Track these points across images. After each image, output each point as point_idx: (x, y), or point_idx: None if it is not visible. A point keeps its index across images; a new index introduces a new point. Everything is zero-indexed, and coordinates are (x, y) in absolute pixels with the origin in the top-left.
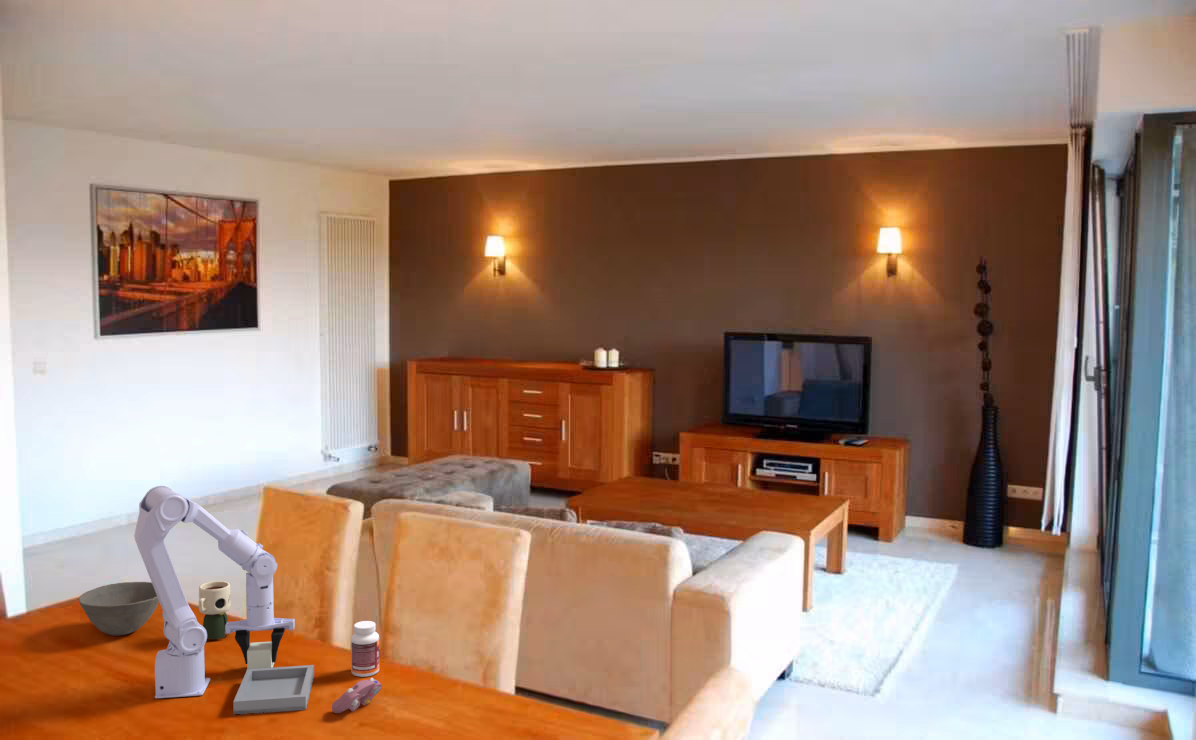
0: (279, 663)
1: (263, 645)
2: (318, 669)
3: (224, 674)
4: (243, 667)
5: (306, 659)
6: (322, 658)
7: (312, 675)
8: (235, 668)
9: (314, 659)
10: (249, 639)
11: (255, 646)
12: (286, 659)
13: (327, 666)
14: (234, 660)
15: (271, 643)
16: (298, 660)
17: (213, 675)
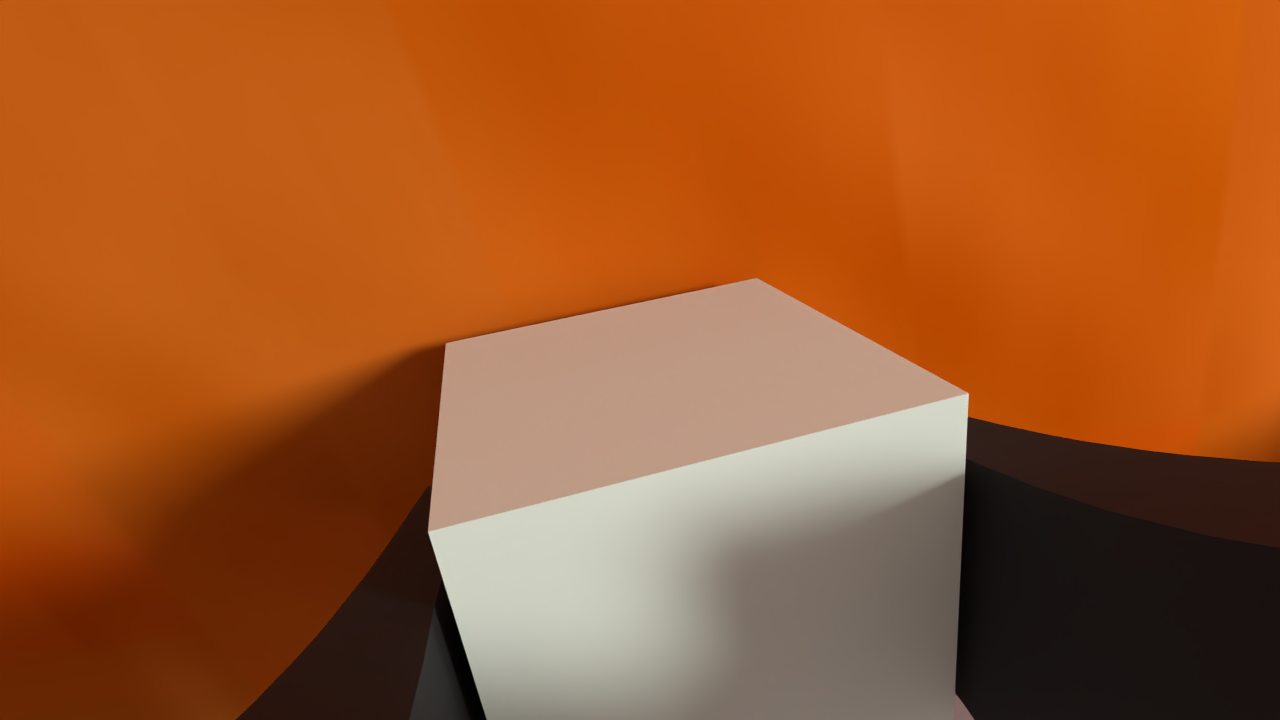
0: (799, 230)
1: (786, 623)
2: (1191, 374)
3: (188, 608)
4: (347, 382)
5: (1097, 95)
6: (1260, 67)
7: None
8: (239, 423)
9: (1179, 98)
10: (421, 710)
11: (634, 704)
12: (865, 87)
13: (1271, 298)
14: (11, 107)
15: (928, 507)
16: (1010, 128)
17: (38, 655)
